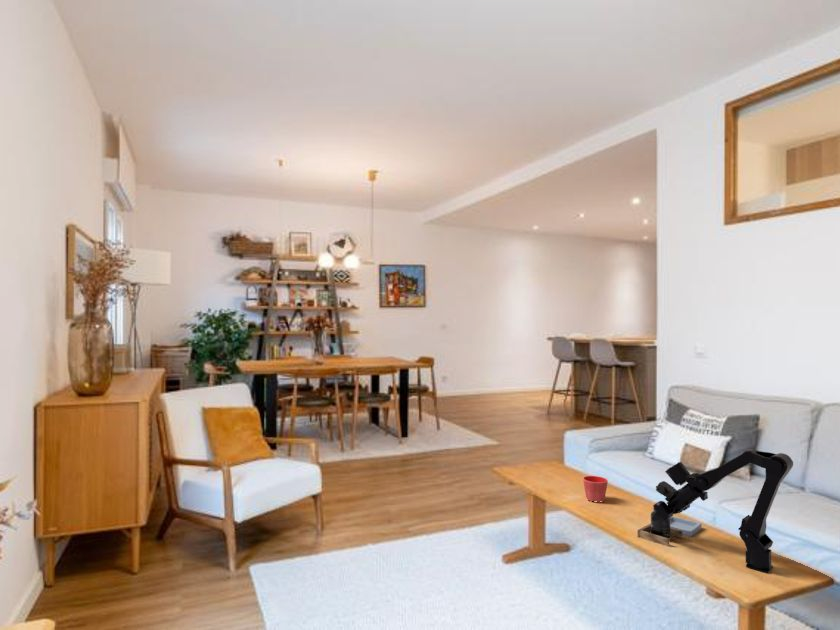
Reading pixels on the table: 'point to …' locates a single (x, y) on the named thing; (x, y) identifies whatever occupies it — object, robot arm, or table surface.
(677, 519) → the tray
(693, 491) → the robot arm
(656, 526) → the supplement bottle
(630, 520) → the table surface
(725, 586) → the table surface
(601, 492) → the flower pot
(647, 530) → the cradle
